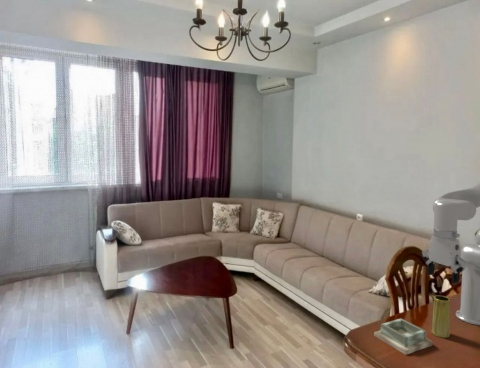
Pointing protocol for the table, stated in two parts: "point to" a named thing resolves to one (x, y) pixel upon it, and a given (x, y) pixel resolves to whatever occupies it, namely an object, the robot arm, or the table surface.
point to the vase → (441, 316)
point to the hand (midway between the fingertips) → (442, 278)
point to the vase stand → (403, 336)
